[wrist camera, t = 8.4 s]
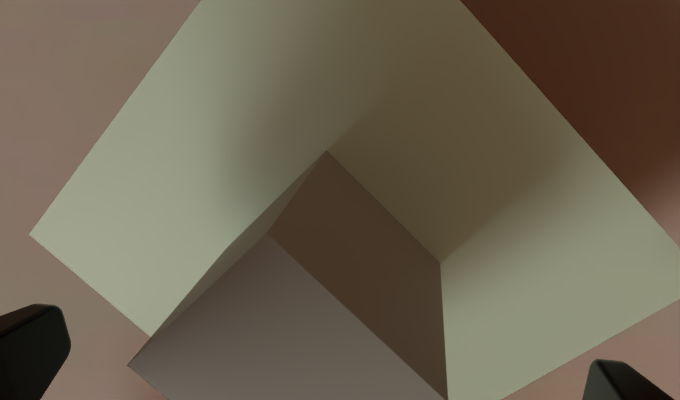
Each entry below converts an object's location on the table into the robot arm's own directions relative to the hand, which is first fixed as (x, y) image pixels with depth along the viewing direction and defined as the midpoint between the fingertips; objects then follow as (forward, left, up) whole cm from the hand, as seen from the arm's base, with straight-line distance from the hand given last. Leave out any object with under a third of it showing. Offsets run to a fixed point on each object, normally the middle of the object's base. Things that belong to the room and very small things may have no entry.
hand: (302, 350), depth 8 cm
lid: (0, 0, -4) cm, 4 cm away
